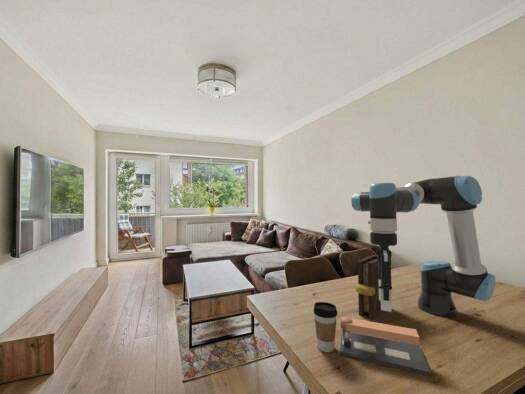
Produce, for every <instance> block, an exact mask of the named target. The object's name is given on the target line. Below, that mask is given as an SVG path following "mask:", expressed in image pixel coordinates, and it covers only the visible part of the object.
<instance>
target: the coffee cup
mask: <svg viewBox="0 0 525 394" xmlns="http://www.w3.org/2000/svg"><path fill="white" fill-rule="evenodd" d="M313 305H314V306H313V313H314V325H315V327H314V328H315V334H316V346H317V348H318V350H319V351H321V352H324V353H331V352H333V351H334V350H335V340H336V330H337V316H338V310H337V306H336V305H335V304H333V303H330V302H325V301H317V302H314V304H313Z"/></svg>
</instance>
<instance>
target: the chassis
mask: <svg viewBox="0 0 525 394" xmlns="http://www.w3.org/2000/svg"><path fill="white" fill-rule="evenodd" d="M421 348H422V347H420V345H417V344H412V343H406V342H401V341H396V340H391V339H386V338H381V337H376V336H371V335H365V334H360V333H355V332H350V331H346V330H344V329H342V328H341V337H340V345H339V355H340V356H344V357H348V358H353V359H357V360H362V361H366V362H370V363H374V364H379V365H382V366H387V367H391V368H395V369H400V370H404V371H408V372H411V373H412V372H413V373H417V374H421V375H424V376H428V377H429V376H430V377H431V370H430V367H429V365H428V364H427V360H426V357H425V356H424V353H423V351H422V349H421Z"/></svg>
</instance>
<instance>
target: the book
mask: <svg viewBox="0 0 525 394" xmlns="http://www.w3.org/2000/svg"><path fill="white" fill-rule="evenodd" d="M357 276H358V277H357V284H356V285H355V291H356V292H357V293H358V315H359V317H364V316H365V315H366V314H367V313H368V319H369V320H374V319H376V318H377V317H378V316H379V315H380V314H381V313H382V312H383V310H381V300H379V287H378V286H379V280H380V279H379V278H378V276H379V275H378V261H377V254H372V255H369V256H366V257H364V258H361V259H359V260H357ZM380 312H381V313H380Z"/></svg>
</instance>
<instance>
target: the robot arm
mask: <svg viewBox="0 0 525 394" xmlns="http://www.w3.org/2000/svg"><path fill="white" fill-rule="evenodd" d="M482 201H483V191H482V187H481V184H480V182H479V181H478V180H477V179H476V178H475V177H474V176H471V175H456V176H455V175H454V176H446V177H437V178H427V179H423V180H419V181H414V182H410V183H407V184H406V185H404V186H399V187H397V186H396V184H395V183H393V182H378V183H377V182H376V183H372V184H371V185H370V186H369V191H365V192H363V191H361V192H356V193H354V194H353V195H352V197H351V200H350V202H351V207H352V209H353V210H354V211H356V212H362V213H363V212H369V220H368V222H367V223H368V224H369V225H370V227H369V228H370V229H369V230H370V231H371V232H370V233H369V238H370V239H369V241H370V243H371V244H372V245H375V246H377V248H376V250H375V251H376V255H377V261H378V275H379V276H378V278H379V279H380V280H379V286H378V287H379V300H381V310H383V311H384V312H389V313H390V312H392V290H393V286H392V267H391V266H392V251H391V250H390V249H389V247H394V246H397V245H398V234H397V233H396V232H397V231H398V220H397V219H398V218H397V213H410V212H414V211H416V209H418V207H419V206H420V204H422V205H425V204H426V205H440V208H441V211H443V212H444V213H446V217H447V225H448V229H449V235H450V241H451V246H452V252H453V258H454V263H453V264H452V265H451V263H450V262H449V261H445V260H444V261H443V260H427V261H423V262H421V265H420V273H421V274H420V277H421V278H420V282H421V292H420V294H419V296H418V300H417V306H418V308H419V309H420V310H422V311H424V312H425V313H428V314H431V315H435V316H440V317H455V316H456V315H457V306H456V304H455V302H454V299H453V297H452V294H456V295H460V296H463V297H467V298H470V299H473V300H477V301H478V300H479V301H483V302H486V301H487V302H488V301H489V300H490V299H491V298H492V296H493V294H494V291H495V288H496V276H495V275H494V274H492V273H490V272H489V273H488V268H487V267H486V266H485V265H483V264H482V260H481V254H480V248H479V241H478V237H477V236H478V234H477V229H476V228H477V227H476V223H475V222H476V221H475V217H474V211H475V210H476V209H477V208H478V205H479V204H481V203H482ZM383 311H382V312H383Z"/></svg>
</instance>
